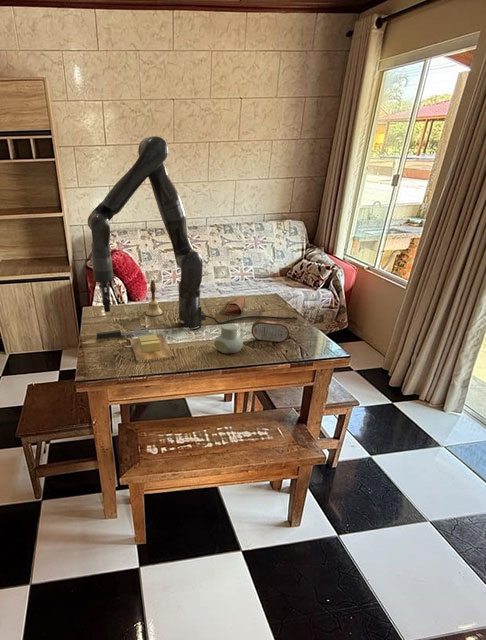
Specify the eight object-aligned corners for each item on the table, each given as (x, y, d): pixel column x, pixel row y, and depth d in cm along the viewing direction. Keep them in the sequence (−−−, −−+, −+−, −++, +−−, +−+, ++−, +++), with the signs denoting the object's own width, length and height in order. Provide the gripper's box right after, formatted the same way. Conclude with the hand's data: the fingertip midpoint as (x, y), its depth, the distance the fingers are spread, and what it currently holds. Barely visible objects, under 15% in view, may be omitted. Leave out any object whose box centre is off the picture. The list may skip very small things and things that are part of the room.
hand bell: (144, 311, 199) (142, 278, 191) (160, 309, 201) (159, 277, 193) (147, 316, 192) (145, 283, 184) (164, 314, 194) (163, 281, 186)
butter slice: (159, 348, 159) (158, 340, 157) (160, 350, 157) (159, 342, 155) (141, 350, 158) (141, 342, 156) (142, 352, 156) (141, 344, 154)
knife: (97, 341, 169) (96, 334, 168) (97, 339, 171) (96, 332, 170) (149, 335, 173) (149, 328, 172) (148, 333, 175) (148, 326, 173)
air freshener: (210, 348, 160) (211, 325, 155) (225, 343, 164) (226, 319, 159) (230, 358, 152) (232, 333, 147) (246, 352, 156) (247, 327, 151)
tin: (289, 341, 163) (291, 321, 159) (288, 344, 161) (291, 324, 157) (251, 337, 168) (252, 318, 164) (250, 340, 165) (251, 320, 161)
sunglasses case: (228, 301, 206) (235, 290, 203) (239, 308, 206) (247, 297, 203) (223, 313, 191) (231, 302, 187) (236, 321, 191) (244, 310, 188)
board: (162, 337, 170) (162, 335, 170) (173, 358, 153) (173, 355, 153) (129, 341, 168) (129, 339, 168) (137, 363, 151) (136, 360, 150)
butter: (156, 342, 164) (155, 334, 162) (158, 347, 160) (158, 339, 158) (139, 344, 163) (138, 336, 161) (141, 349, 159) (140, 341, 157)
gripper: (114, 272, 151) (117, 313, 159) (110, 263, 163) (113, 301, 171) (93, 273, 150) (98, 315, 158) (91, 264, 162) (95, 303, 170)
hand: (106, 308), depth 165 cm, fingers open, 8 cm apart
